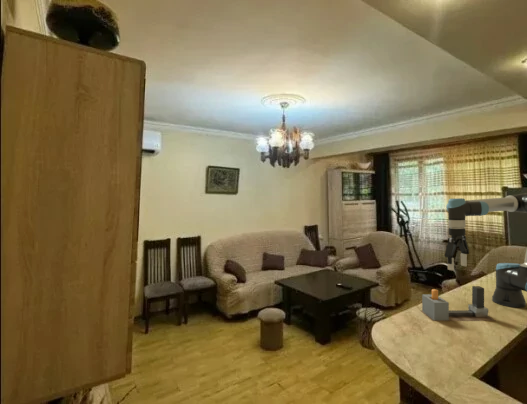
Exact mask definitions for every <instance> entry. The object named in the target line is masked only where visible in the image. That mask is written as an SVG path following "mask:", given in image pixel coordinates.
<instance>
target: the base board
mask: <svg viewBox="0 0 527 404" xmlns="http://www.w3.org/2000/svg"><path fill="white" fill-rule="evenodd" d="M420 312H421V313H422V314H423V315H425V316H426V317H427V318H428V319H430V320H431V321H433V322H450V321H451V322H475V321H476V322H487V321H488V322H491V321H492V322H495V321H497V320H496V319H495V318H492V317H491V316H489V315H488V317H449V320H433V319H432V318H431V317H429V316H428V315H427V314H426V313H424V312H423V311H422V310H420Z"/></svg>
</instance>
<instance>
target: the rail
mask: <svg viewBox="0 0 527 404" xmlns="http://www.w3.org/2000/svg"><path fill="white" fill-rule="evenodd" d="M449 317H475V312H473V311H471V310H469V309H468V310H467V309H466V310H465V309H464V310H463V309H462V310H456V309H455V310H452V309H451V310H449Z"/></svg>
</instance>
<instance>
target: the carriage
mask: <svg viewBox="0 0 527 404" xmlns="http://www.w3.org/2000/svg"><path fill="white" fill-rule="evenodd" d="M471 287H472V290H471V291H472V292H471V293H472V294H471V296H472V297H471V299H472V300H471V303H472V304H469V303H468V304H467V308H468V310H471V311H473V312H475V317H488V316H489V308H488V307H486V306H485V288H484V287H482V286H480V285H472V286H471Z"/></svg>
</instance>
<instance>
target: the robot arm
mask: <svg viewBox="0 0 527 404" xmlns="http://www.w3.org/2000/svg"><path fill="white" fill-rule="evenodd" d="M445 207H446V211H447V213H448V215H447V217H448V221H447V224H448V235H449V236H451V237H447V243H446V248H445V253H444V257H445V258H446V260H447V261H446V262H447V270H449V271H455V262H454V261H455V258H454V255H455V252H456V249H457V248H459V251H460V266H463V267H468V266H467V265H468V255H469V254H470V249H469V247H468V246H469V245H468V241H467V237H466V233H467V232H466V231H467V230H466V224H467V223H466V217H477V216H478V217H481V216H486V215H488V213H493V212H505V211H506V212H509V213H525V214H527V192H524V193H519V194H512V195H506V196H505V197H493V198H481V199H480V198H479V199H470V200H469V199H467V200H466V199H465V198H463V197H462V198H458V197H457V198H449V199H448V201H447V203H446V206H445ZM523 291H524V292H526V293H527V248H526V250H525V256H524V262H523V263H516V262H515V263H514V262H499V263H497V264H496V268H495V289H494V291H493V294H492V297H491V298H492V299H491V300H492V302H494V303H496V304H497V305H502V306H505V307H511V308H525V307H526V306H527V303H526V298H525V297H524V293H523ZM524 306H525V307H524Z"/></svg>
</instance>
